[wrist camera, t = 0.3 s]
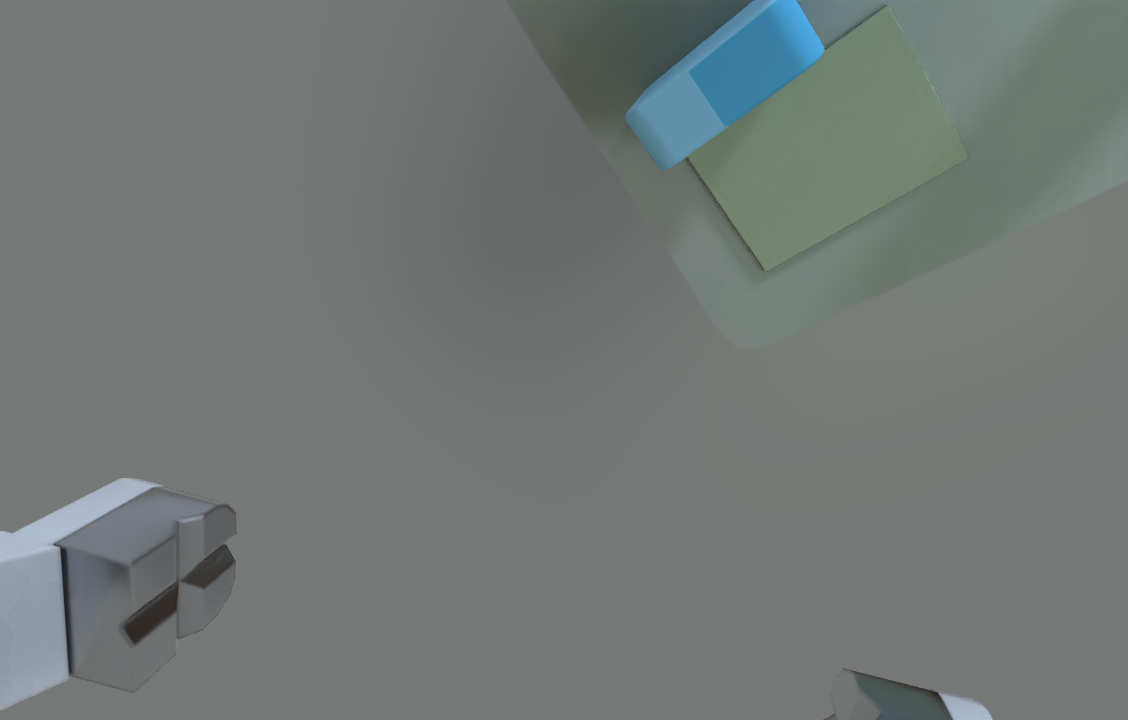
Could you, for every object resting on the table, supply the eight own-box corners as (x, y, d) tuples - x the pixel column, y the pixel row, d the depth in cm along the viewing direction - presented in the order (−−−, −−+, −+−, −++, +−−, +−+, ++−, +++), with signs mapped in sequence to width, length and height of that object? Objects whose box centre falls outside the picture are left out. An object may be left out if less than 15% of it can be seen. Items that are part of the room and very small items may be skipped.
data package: (676, 135, 52) (659, 177, 42) (644, 89, 51) (618, 121, 41) (812, 33, 46) (829, 55, 36) (780, -22, 45) (788, -16, 35)
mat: (887, 4, 44) (888, 5, 44) (968, 157, 48) (969, 157, 48) (683, 151, 53) (683, 152, 53) (766, 270, 57) (766, 272, 56)
